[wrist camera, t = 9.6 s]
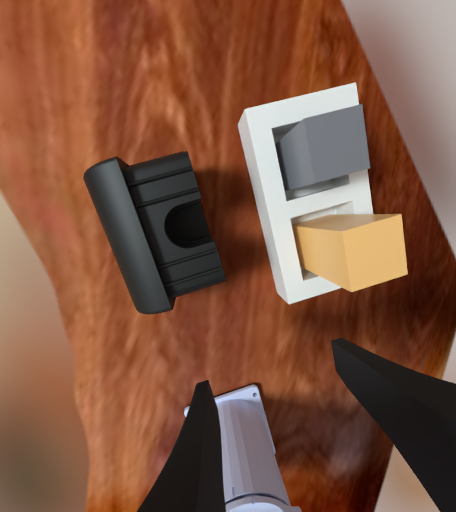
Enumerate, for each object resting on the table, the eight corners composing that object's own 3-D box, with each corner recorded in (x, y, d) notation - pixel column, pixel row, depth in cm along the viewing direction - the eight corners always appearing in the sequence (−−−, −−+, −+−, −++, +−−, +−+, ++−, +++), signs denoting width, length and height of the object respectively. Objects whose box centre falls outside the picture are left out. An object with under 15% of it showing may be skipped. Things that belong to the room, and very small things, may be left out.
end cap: (107, 185, 19) (60, 169, 13) (188, 163, 20) (183, 136, 13) (148, 291, 21) (126, 326, 15) (220, 269, 22) (230, 292, 15)
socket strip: (358, 267, 24) (416, 286, 17) (277, 293, 23) (306, 322, 17) (333, 101, 20) (392, 51, 14) (237, 124, 20) (256, 83, 14)
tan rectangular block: (335, 253, 23) (407, 274, 15) (297, 265, 22) (351, 292, 15) (328, 214, 22) (401, 214, 14) (289, 225, 22) (341, 231, 14)
